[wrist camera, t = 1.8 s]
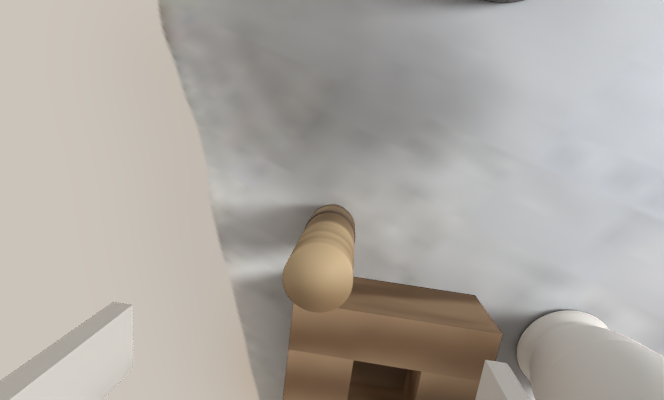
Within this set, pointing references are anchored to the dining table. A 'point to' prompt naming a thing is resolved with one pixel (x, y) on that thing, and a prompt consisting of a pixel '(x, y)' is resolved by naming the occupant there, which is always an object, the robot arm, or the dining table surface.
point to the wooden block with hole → (391, 346)
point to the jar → (587, 361)
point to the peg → (322, 261)
